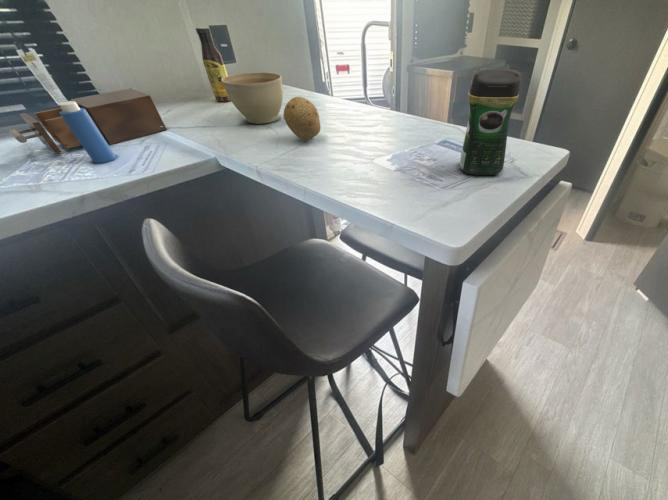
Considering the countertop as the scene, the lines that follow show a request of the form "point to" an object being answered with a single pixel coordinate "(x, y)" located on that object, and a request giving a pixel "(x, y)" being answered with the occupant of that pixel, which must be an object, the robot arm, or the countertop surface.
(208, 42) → the sauce bottle
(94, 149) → the bottle
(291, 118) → the potato
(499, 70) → the coffee jar
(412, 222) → the countertop surface
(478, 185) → the countertop surface
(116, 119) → the cabinet
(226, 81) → the planter bowl
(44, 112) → the drawer
